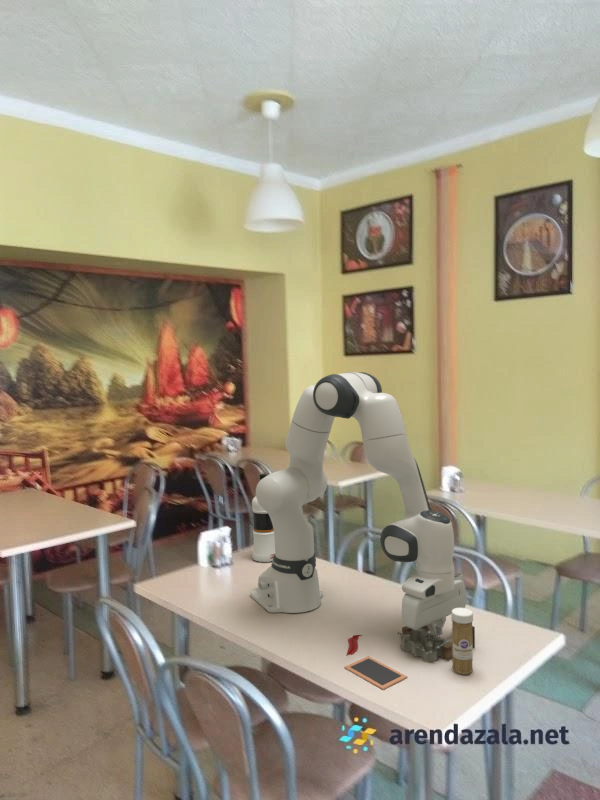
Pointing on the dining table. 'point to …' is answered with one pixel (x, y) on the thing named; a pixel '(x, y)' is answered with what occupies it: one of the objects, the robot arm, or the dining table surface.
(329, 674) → the dining table surface
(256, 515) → the vodka
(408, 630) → the walled channel
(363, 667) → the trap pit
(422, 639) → the egg carton
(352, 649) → the cayenne pepper
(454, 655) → the sprinkles bottle
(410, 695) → the dining table surface
